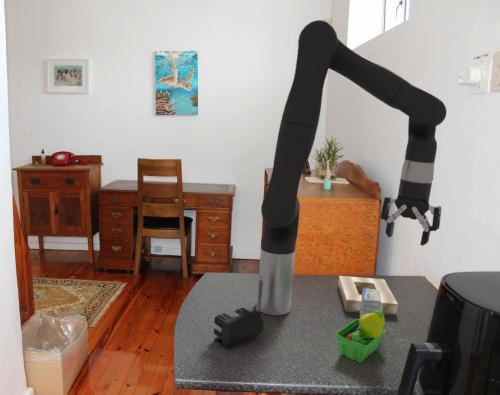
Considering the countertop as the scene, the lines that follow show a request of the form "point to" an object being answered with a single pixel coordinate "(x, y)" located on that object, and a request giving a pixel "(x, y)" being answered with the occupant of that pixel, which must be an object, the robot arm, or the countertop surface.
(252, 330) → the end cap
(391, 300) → the thick beige rectangular frame
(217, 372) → the countertop surface
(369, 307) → the medicine box
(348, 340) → the fruit basket
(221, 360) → the countertop surface
